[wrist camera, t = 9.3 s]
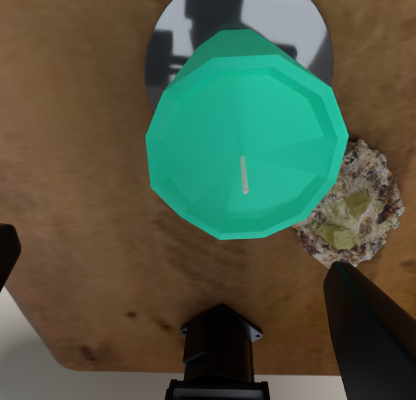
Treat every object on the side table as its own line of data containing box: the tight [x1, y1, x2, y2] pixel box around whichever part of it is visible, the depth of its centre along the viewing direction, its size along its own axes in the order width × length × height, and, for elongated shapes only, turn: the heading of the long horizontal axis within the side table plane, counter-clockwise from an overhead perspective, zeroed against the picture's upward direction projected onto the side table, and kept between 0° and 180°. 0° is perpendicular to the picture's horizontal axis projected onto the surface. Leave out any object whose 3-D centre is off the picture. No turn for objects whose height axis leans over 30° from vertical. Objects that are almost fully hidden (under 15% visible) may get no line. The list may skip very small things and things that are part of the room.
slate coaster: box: [145, 0, 333, 114], centre depth 18 cm, size 11×11×1 cm
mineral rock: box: [291, 139, 406, 269], centre depth 21 cm, size 11×4×8 cm
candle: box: [145, 29, 349, 240], centre depth 12 cm, size 6×6×12 cm
